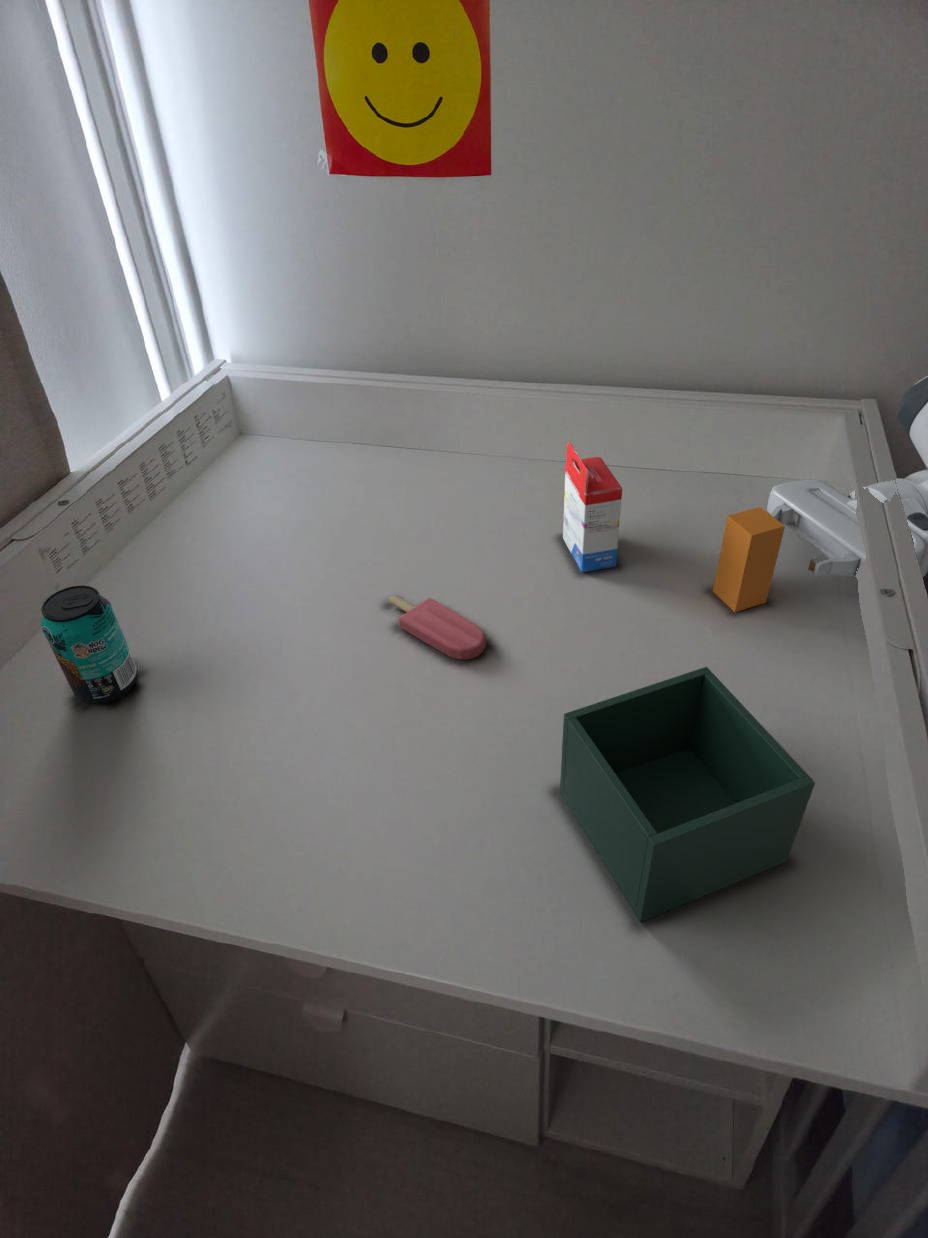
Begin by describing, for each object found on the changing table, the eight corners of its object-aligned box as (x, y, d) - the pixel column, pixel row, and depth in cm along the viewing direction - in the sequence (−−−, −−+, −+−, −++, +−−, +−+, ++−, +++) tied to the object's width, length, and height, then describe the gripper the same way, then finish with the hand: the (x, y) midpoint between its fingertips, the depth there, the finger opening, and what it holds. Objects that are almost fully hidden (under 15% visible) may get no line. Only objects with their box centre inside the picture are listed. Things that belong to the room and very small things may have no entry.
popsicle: (405, 582, 101) (495, 633, 93) (406, 592, 102) (495, 644, 94) (373, 603, 98) (463, 657, 90) (375, 613, 99) (464, 668, 91)
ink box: (617, 568, 104) (627, 466, 95) (580, 574, 104) (586, 472, 94) (595, 532, 111) (602, 434, 101) (560, 537, 110) (564, 439, 101)
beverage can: (77, 671, 93) (38, 589, 86) (140, 658, 95) (107, 575, 87) (72, 713, 88) (30, 629, 80) (139, 699, 89) (103, 615, 82)
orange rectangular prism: (766, 602, 98) (785, 525, 91) (734, 612, 97) (751, 535, 90) (743, 582, 101) (760, 506, 94) (712, 591, 100) (727, 515, 93)
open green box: (786, 861, 71) (815, 782, 64) (640, 922, 67) (654, 845, 60) (690, 745, 81) (706, 666, 74) (559, 792, 77) (563, 713, 70)
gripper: (826, 459, 105) (737, 483, 102) (953, 539, 91) (854, 570, 87) (815, 501, 109) (728, 525, 106) (935, 584, 95) (839, 616, 91)
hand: (786, 546), depth 96 cm, fingers open, 8 cm apart
